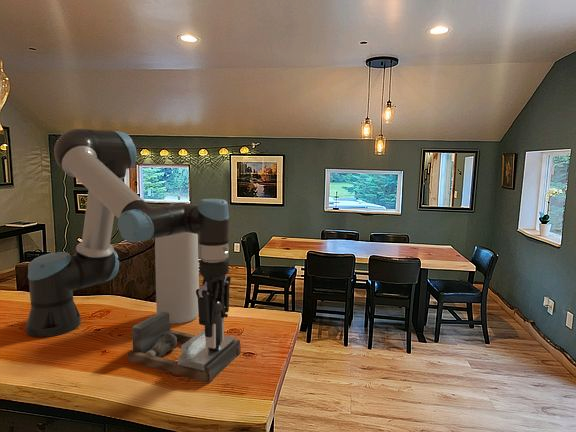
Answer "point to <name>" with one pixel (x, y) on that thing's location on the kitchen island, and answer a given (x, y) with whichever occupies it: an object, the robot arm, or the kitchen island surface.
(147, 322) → the grey rectangular frame
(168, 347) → the stone
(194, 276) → the vase
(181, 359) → the ram
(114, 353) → the kitchen island surface
